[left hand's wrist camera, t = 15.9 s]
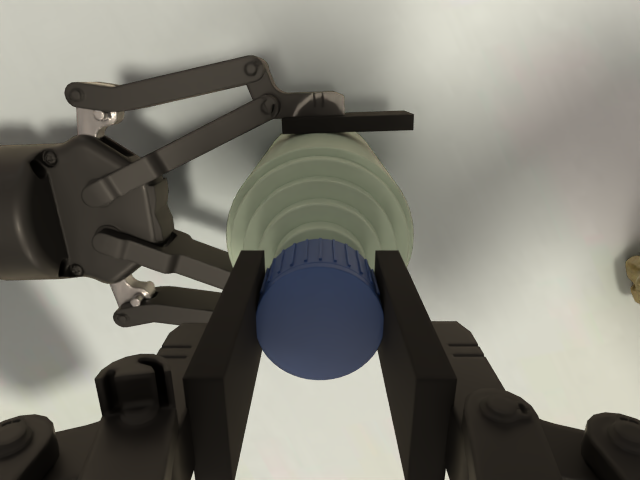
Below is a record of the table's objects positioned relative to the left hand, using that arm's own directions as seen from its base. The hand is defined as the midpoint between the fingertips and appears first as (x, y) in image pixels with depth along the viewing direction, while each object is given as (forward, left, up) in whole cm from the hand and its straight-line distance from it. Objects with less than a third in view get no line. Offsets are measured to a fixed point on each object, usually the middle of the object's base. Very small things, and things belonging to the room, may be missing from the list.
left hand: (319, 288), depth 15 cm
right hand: (-4, -2, -11) cm, 12 cm away
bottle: (0, 0, -17) cm, 17 cm away
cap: (0, 0, +2) cm, 2 cm away
